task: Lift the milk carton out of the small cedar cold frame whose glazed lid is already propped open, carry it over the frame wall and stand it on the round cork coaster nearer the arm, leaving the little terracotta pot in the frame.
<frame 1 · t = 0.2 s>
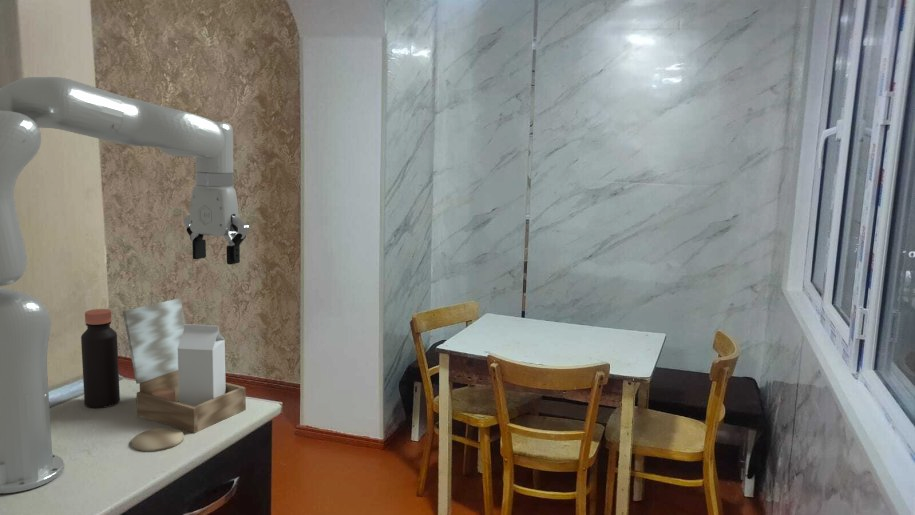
hand: (216, 260, 150), 31 cm above the kitchen counter, tool pointing down, fingers open, 9 cm apart
cold frame: (192, 412, 146), on the kitchen counter
bottle: (102, 403, 150), on the kitchen counter
coaster: (158, 440, 132), on the kitchen counter
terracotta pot: (164, 414, 145), resting in cold frame
milk carton: (203, 414, 146), resting in cold frame
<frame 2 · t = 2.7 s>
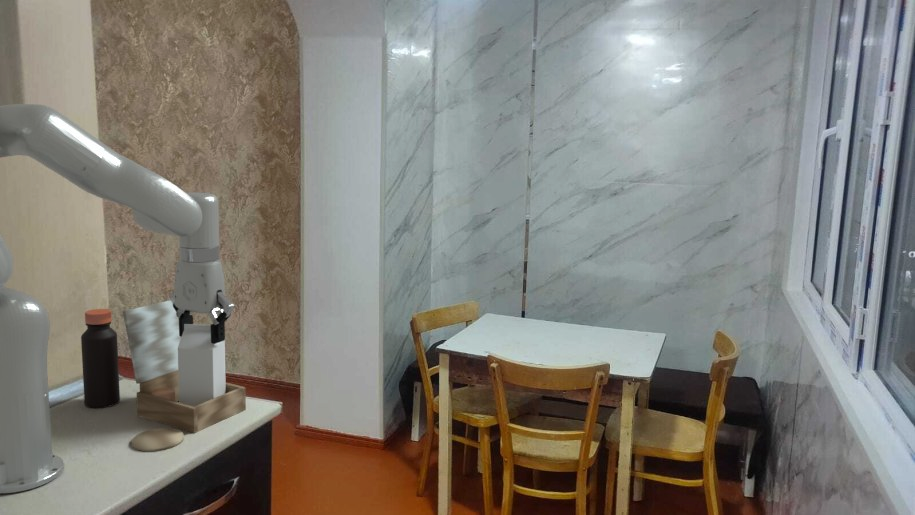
hand: (202, 338, 143), 16 cm above the kitchen counter, tool pointing down, fingers closed on milk carton, 8 cm apart
milk carton: (203, 414, 146), resting in cold frame, touching gripper
everything else where it was.
when the fingers open (17 cm above the kitchen counter, at t = 8.4 s): milk carton stays where it is, resting on coaster.
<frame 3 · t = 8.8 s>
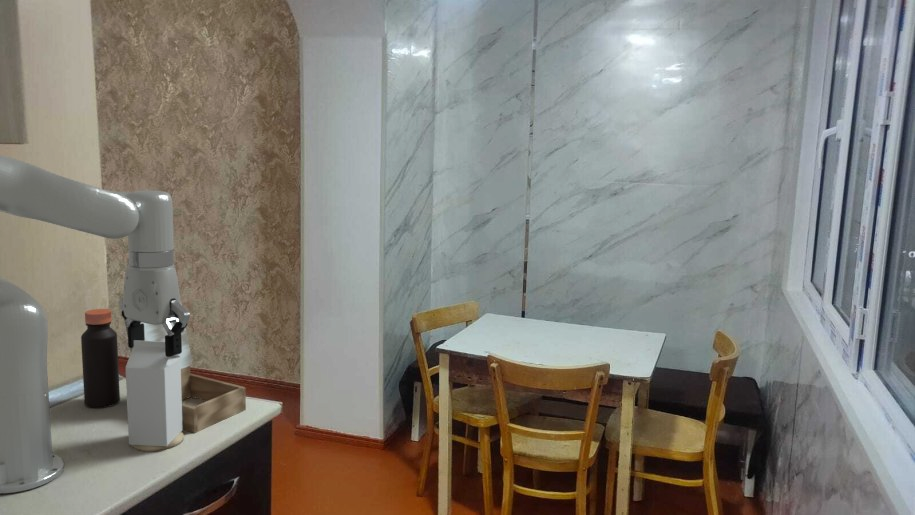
hand: (154, 350, 129), 18 cm above the kitchen counter, tool pointing down, fingers open, 9 cm apart
milk carton: (156, 439, 132), resting on coaster
everything else where it was.
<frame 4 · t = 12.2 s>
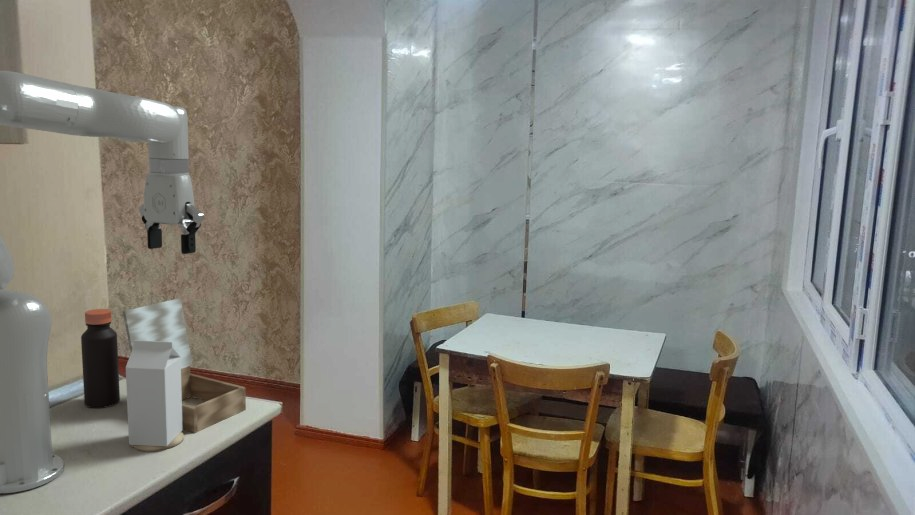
hand: (171, 250, 145), 33 cm above the kitchen counter, tool pointing down, fingers open, 9 cm apart
nothing on the kitchen counter moved.
at the end: milk carton 0.3 cm from the coaster (horizontally); milk carton tilted 0°; milk carton resting on coaster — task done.
